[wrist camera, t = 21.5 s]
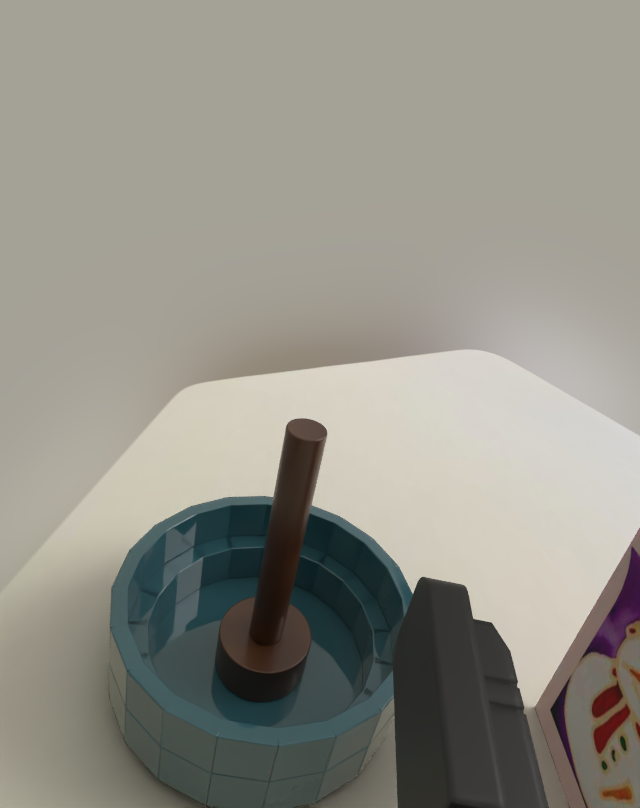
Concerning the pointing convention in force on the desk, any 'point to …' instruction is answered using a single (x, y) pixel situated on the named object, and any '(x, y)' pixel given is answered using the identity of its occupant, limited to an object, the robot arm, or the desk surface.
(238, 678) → the brown joystick
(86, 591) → the desk surface
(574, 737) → the greeting card
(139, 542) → the bowl
